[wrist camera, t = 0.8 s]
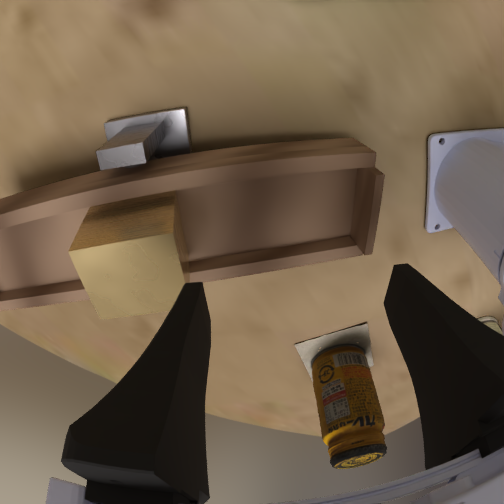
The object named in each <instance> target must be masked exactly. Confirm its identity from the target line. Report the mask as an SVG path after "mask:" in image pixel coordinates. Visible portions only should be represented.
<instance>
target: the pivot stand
mask: <svg viewBox="0 0 504 504" xmlns="http://www.w3.org/2000/svg"><path fill="white" fill-rule="evenodd" d="M104 127H105V132H106V136H107V142H106V143H105V144H104V145H103V146H101V147H100V148H99V149H98V150H97V151H96V154H97V158H98V162H99V166H100V170H106V169H112V168H117V167H123V166H130V165H136V164H143V163H147V161H150V160H155V159H161V158H166V157H172V156H178V155H184V154H190V153H192V146H191V138H190V131H189V123H188V116H187V108H186V107H181V108H174V109H167V110H161V111H155V112H149V113H143V114H138V115H132V116H127V117H122V118H118V119H113V120H109V121H107V122H105V123H104Z"/></svg>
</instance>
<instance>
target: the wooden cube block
mask: <svg viewBox="0 0 504 504" xmlns="http://www.w3.org/2000/svg"><path fill="white" fill-rule="evenodd" d="M68 253H69V255H70V257H71V259H72V262H73V264H74V266H75V268H76V271H77V273H78V275H79V277H80V279H81V281H82V284H83V286H84V288H85V290H86V292H87V294H88V296H89V298H90V300H91V302H92V304H93V306H94V308H95V310H96V312H97V314H98V316H99V318H100V319H101V320H104V319H112V318H120V317H128V316H135V315H143V314H150V313H157V312H164V311H170V310H171V308H172V307H173V305H174V303H175V301H176V299H177V297H178V295H179V293H180V291H181V289H182V287H183V285H184V284H185V283H190V271H189V254H188V250H187V245H186V241H185V236H184V231H183V226H182V221H181V216H180V211H179V206H178V201H177V196H176V190H174V191H168V192H163V193H157V194H152V195H146V196H141V197H136V198H130V199H125V200H120V201H115V202H110V203H106V204H101V205H96V206H92V207H90V208H89V210H88V212H87V214H86V216H85V218H84V219H83V221H82V223H81V226H80V228H79V230H78V232H77V234H76V236H75V238H74V240H73V242H72V244H71V247H70V249H69V251H68Z"/></svg>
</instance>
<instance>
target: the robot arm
mask: <svg viewBox="0 0 504 504" xmlns="http://www.w3.org/2000/svg"><path fill="white" fill-rule="evenodd" d="M441 138H442V141H441V143H439V140H440V139H441ZM437 224H438V225H437ZM436 225H437V226H436ZM435 226H436V227H435ZM450 228H455V229H456V230H457V231H458V233H459V234H460V235H461V236H462V237H463V238H464V240H465V241H466V242H467V243H468V244H469V245H470V247H471V248H472V249H473V250H474V251H475V253H476V254H477V255H478V256H479V258H480V259H481V260H482V261H483V263H484V264H485V265H486V266H487V268H488V269H489V270H490V272H491V273H492V274H493V276H494V277H495V278H496V279H497V281H498V282H499V284H500V285H501V291H500V294H499V296H498V298H499V300H500V301H501V303H502V304H503V306H504V128H498V129H482V130H469V131H457V132H447V133H437V134H432V135H430V136H429V138H428V184H427V206H426V221H425V229H426V231H427V232H428V233H433V232H438V231H442V230H446V229H450ZM384 307H385V310H386V314H387V317H388V320H389V324H390V327H391V329H392V331H393V334H394V336H395V338H396V341H397V343H398V346H399V348H400V350H401V353H402V355H403V357H404V360H405V362H406V365H407V367H408V370H409V373H410V375H411V378H412V382H413V386H414V390H415V394H416V398H417V402H418V407H419V412H420V418H421V424H422V431H423V438H424V452H425V468H426V470H425V471H423V472H420V473H417V474H414V475H411V476H408V477H404V478H401V479H398V480H395V481H391V482H388V483H384V484H380V485H377V486H373V487H369V488H365V489H360V490H356V491H351V492H347V493H342V494H337V495H332V496H326V497H320V498H313V499H306V500H299V501H290V502H281V503H269V504H381V503H385V502H388V501H392V500H395V499H398V498H401V497H405V496H408V495H411V494H413V493H416V492H419V491H422V490H425V489H427V488H430V487H433V486H435V485H438V484H440V483H443V482H445V481H448V480H449V482H448V484H447V485H445V486H443V487H440V488H438V489H436V490H434V491H431V492H429V493H428V494H426V495H424V496H422V497H421V498H418V499H416V500H413V501H411V502H410V503H409V504H504V316H503V321H502V333H503V335H502V334H500V333H498V332H497V331H495V330H493V329H492V328H490V327H488V326H487V325H485V324H484V323H482V322H481V321H479V320H478V319H476V318H475V317H473V316H472V315H471V314H469V313H468V312H467V311H465V310H464V309H463V308H461V307H460V306H459V305H458V304H456V303H455V302H454V301H453V300H451V299H450V298H449V297H448V296H446V295H445V294H444V293H443V292H442V291H440V290H439V289H438V288H437V287H436V286H435V285H433V284H432V283H431V282H430V281H429V280H427V279H426V278H425V277H424V276H423V275H422V274H420V273H419V272H418V271H417V270H415V269H414V268H413V267H412V266H410V265H409V264H398V265H394V267H393V271H392V274H391V278H390V282H389V286H388V289H387V293H386V296H385V300H384ZM210 348H211V319H210V315H209V310H208V306H207V301H206V297H205V292H204V288H203V283H202V282H191V283H185V284H184V285H183V287H182V289H181V291H180V293H179V295H178V297H177V299H176V301H175V303H174V305H173V307H172V308H171V310H170V312H169V314H168V315H167V317H166V319H165V320H164V322H163V324H162V326H161V327H160V329H159V330H158V332H157V333H156V335H155V336H154V338H153V339H152V341H151V342H150V344H149V345H148V347H147V348H146V350H145V351H144V352H143V354H142V355H141V356H140V358H139V359H138V360H137V362H136V363H135V364H134V365H133V367H132V368H131V369H130V370H129V371H128V372H127V374H126V375H125V376H124V377H123V378H122V379H121V381H120V382H119V383H118V384H117V385H116V386H115V387H114V388H113V389H112V390H111V391H110V392H109V393H108V394H107V395H106V396H105V397H104V398H103V399H102V400H100V401H99V402H98V404H96V405H95V406H94V407H93V408H92V409H91V410H89V411H88V412H87V413H85V414H84V415H83V416H82V417H80V418H79V419H78V420H77V421H75V422H74V423H73V424H71V425H70V426H69V429H68V432H67V435H66V439H65V444H64V449H63V454H62V459H61V462H62V463H63V465H64V466H65V467H66V468H68V469H69V470H71V471H72V472H74V473H76V474H78V475H79V476H81V477H83V478H85V479H87V485H86V487H85V486H82V485H79V484H76V483H72V482H68V481H64V480H60V479H57V478H54V477H51V478H50V481H49V487H48V493H47V500H46V504H204V503H205V502H206V501H207V500H208V499H209V498H210V496H209V485H208V475H207V459H206V439H205V395H206V385H207V376H208V366H209V357H210Z"/></svg>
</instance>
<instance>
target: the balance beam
mask: <svg viewBox="0 0 504 504" xmlns="http://www.w3.org/2000/svg"><path fill="white" fill-rule="evenodd" d="M375 159H376V152H374V151H373V150H371V149H370V148H368V147H367V146H365V145H364V144H362V143H361V142H359V141H357V140H356V139H354V138H337V139H318V140H303V141H290V142H278V143H268V144H258V145H249V146H240V147H232V148H224V149H217V150H210V151H203V152H196V153H190V154H184V155H178V156H172V157H166V158H161V159H155V160H150V161H147V163H143V164H136V165H130V166H123V167H117V168H112V169H107V170H102V171H98V172H94V173H90V174H86V175H82V176H78V177H74V178H70V179H66V180H62V181H59V182H55V183H51V184H48V185H44V186H41V187H37V188H34V189H31V190H27V191H24V192H21V193H18V194H15V195H12V196H8V197H5V198H2V199H0V311H5V310H13V309H21V308H29V307H37V306H45V305H52V304H60V303H67V302H75V301H82V300H89V299H90V298H89V296H88V294H87V292H86V290H85V288H84V286H83V284H82V281H81V279H80V277H79V275H78V273H77V271H76V268H75V266H74V264H73V262H72V259H71V257H70V255H69V253H68V251H69V249H70V247H71V244H72V242H73V240H74V238H75V236H76V234H77V232H78V230H79V228H80V226H81V223H82V221H83V219H84V218H85V216H86V214H87V212H88V210H89V208H90V207H92V206H96V205H101V204H106V203H110V202H115V201H120V200H125V199H130V198H136V197H141V196H146V195H152V194H157V193H163V192H168V191H174V190H176V196H177V201H178V206H179V211H180V216H181V221H182V226H183V231H184V236H185V241H186V245H187V250H188V254H189V271H190V283H191V282H202V283H203V282H209V281H216V280H222V279H228V278H234V277H240V276H246V275H252V274H258V273H264V272H270V271H276V270H282V269H287V268H293V267H299V266H305V265H310V264H316V263H321V262H327V261H333V260H338V259H344V258H349V257H354V256H360V255H363V254H364V255H369V254H372V252H373V246H374V241H375V235H376V230H377V224H378V218H379V211H380V205H381V198H382V191H383V183H384V176H385V175H384V174H383V173H382V172H380V171H379V170H378V169H377V168H375Z"/></svg>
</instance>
